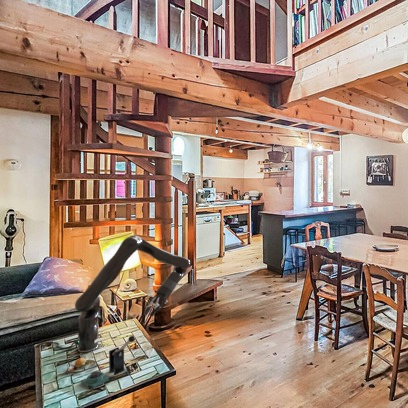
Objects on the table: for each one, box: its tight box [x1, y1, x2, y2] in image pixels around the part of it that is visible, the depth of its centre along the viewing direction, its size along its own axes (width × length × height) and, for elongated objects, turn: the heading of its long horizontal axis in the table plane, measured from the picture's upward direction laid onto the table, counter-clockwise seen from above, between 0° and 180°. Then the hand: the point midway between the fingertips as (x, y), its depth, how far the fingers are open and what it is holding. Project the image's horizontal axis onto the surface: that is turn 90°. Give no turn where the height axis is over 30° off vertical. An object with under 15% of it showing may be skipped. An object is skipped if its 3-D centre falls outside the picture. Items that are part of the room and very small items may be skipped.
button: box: [90, 370, 101, 378], centre depth 155 cm, size 4×4×2 cm
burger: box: [66, 357, 97, 374], centre depth 167 cm, size 12×12×8 cm
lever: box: [112, 335, 136, 356], centre depth 167 cm, size 12×3×3 cm, turn 156°
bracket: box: [108, 346, 125, 376], centre depth 163 cm, size 8×10×13 cm
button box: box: [80, 371, 110, 389], centre depth 155 cm, size 10×7×4 cm
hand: (147, 315), depth 178 cm, fingers open, 4 cm apart
